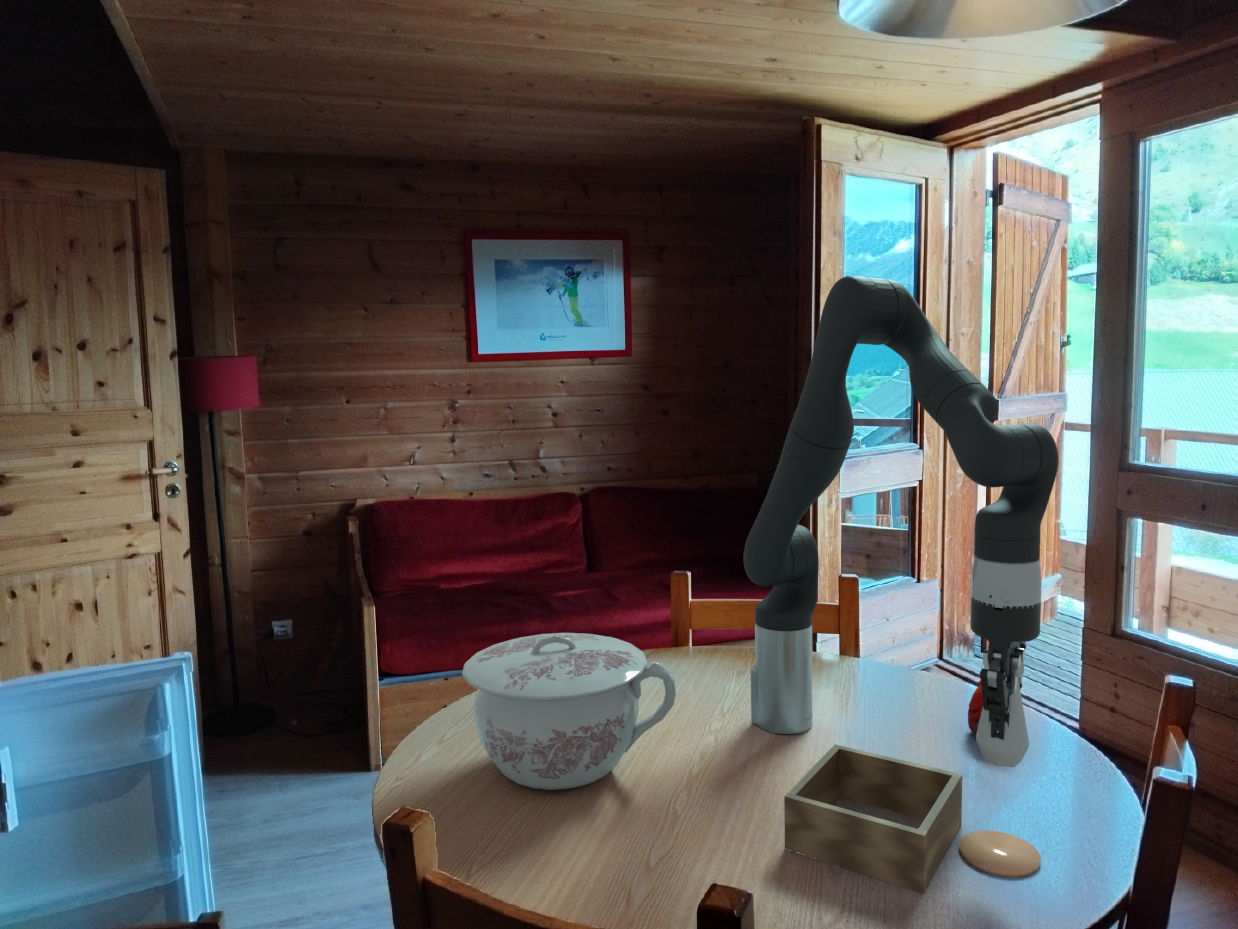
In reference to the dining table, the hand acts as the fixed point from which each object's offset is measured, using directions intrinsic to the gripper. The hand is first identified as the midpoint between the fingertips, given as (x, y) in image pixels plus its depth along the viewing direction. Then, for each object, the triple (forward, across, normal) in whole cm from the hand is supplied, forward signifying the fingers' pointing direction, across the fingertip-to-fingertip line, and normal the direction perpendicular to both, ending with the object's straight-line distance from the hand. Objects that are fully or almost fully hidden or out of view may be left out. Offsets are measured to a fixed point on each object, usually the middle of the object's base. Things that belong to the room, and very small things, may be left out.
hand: (1002, 734), depth 105 cm
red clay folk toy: (+16, -34, -8) cm, 38 cm away
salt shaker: (+3, 0, 0) cm, 3 cm away
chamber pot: (+16, +10, -60) cm, 63 cm away
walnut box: (+15, +4, -14) cm, 21 cm away
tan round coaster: (+15, 0, 0) cm, 15 cm away
